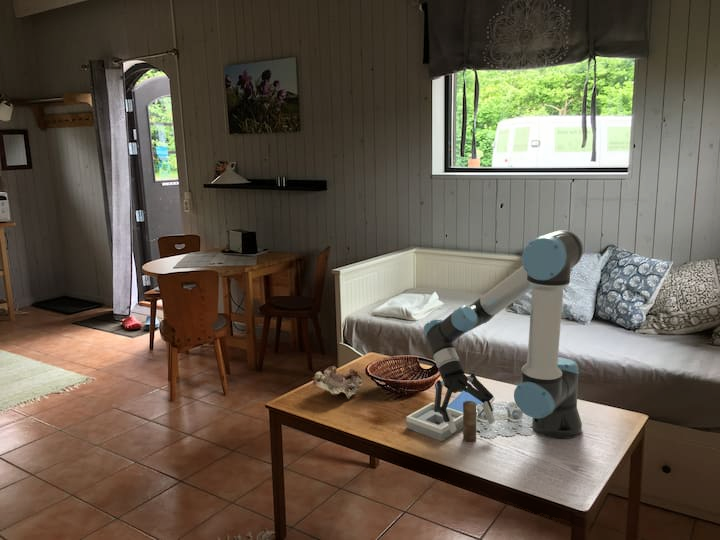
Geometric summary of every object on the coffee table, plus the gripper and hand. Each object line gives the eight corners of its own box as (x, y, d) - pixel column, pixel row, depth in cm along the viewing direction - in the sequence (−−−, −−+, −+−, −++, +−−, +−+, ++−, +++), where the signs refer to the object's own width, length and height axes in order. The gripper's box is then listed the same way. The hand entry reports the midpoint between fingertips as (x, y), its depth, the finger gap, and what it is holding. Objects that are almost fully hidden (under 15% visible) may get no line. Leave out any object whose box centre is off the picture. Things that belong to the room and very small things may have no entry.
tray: (467, 425, 199) (467, 413, 198) (441, 441, 189) (441, 429, 188) (432, 413, 209) (432, 402, 208) (406, 427, 199) (406, 416, 198)
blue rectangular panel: (475, 421, 203) (475, 417, 203) (440, 413, 209) (440, 409, 209) (495, 399, 219) (495, 395, 219) (462, 393, 225) (462, 389, 225)
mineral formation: (328, 407, 214) (339, 382, 212) (299, 384, 223) (309, 360, 222) (366, 405, 231) (377, 382, 230) (338, 383, 241) (347, 361, 240)
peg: (478, 439, 190) (478, 403, 187) (471, 443, 187) (471, 407, 184) (467, 435, 192) (467, 399, 190) (460, 439, 190) (460, 404, 187)
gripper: (477, 363, 204) (502, 423, 194) (410, 376, 196) (433, 439, 185) (486, 353, 198) (513, 414, 188) (417, 366, 190) (441, 430, 179)
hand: (473, 427), depth 187 cm, fingers open, 13 cm apart
